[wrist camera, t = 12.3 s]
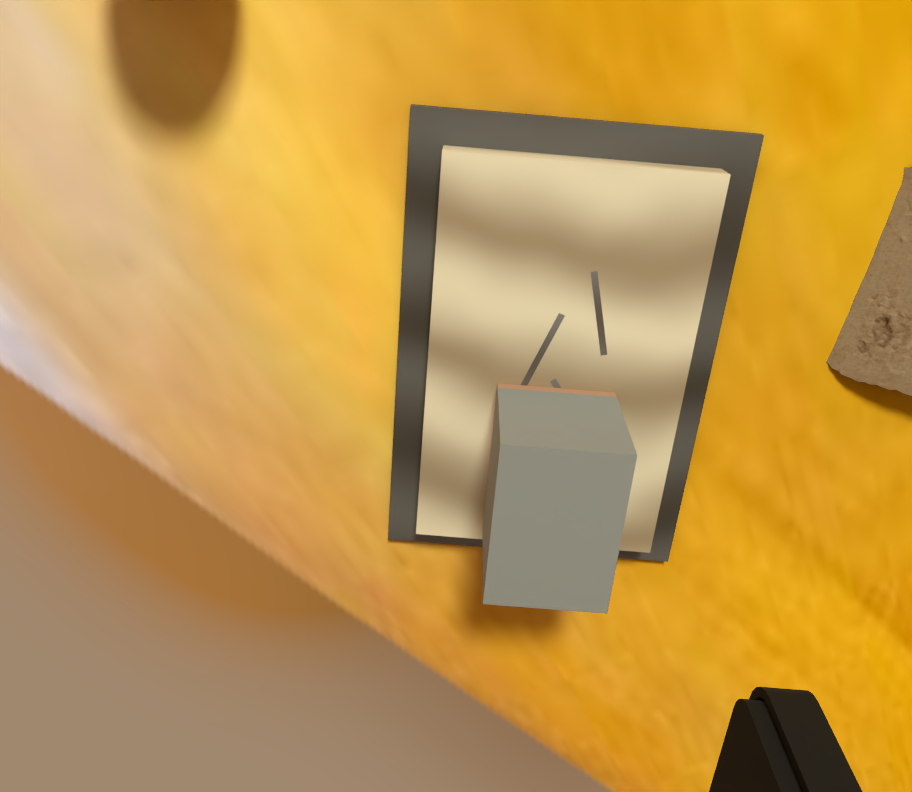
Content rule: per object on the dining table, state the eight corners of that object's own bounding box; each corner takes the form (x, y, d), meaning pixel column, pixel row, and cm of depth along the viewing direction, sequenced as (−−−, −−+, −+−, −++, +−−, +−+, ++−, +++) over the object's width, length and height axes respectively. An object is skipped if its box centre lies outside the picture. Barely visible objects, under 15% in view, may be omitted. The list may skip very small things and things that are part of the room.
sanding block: (497, 383, 38) (500, 444, 33) (615, 392, 38) (637, 455, 33) (482, 527, 42) (483, 604, 36) (590, 535, 42) (607, 613, 36)
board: (411, 104, 35) (407, 109, 33) (760, 133, 35) (775, 140, 34) (389, 533, 45) (385, 555, 43) (665, 556, 45) (673, 579, 43)
